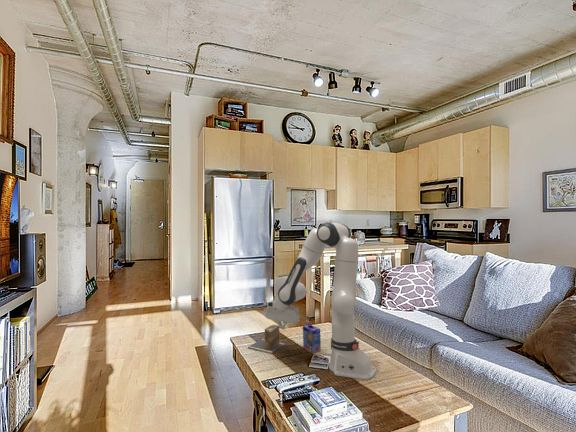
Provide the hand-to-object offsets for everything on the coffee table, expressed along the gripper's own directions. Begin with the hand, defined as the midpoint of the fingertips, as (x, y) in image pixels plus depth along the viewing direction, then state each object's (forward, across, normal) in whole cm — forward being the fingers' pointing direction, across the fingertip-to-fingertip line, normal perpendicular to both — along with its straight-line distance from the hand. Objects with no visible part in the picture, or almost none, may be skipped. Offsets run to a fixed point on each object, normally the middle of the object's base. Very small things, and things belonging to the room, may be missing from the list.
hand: (282, 328), depth 184 cm
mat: (+12, +10, 0) cm, 16 cm away
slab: (+11, +6, 0) cm, 13 cm away
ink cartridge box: (+12, -14, -10) cm, 21 cm away
